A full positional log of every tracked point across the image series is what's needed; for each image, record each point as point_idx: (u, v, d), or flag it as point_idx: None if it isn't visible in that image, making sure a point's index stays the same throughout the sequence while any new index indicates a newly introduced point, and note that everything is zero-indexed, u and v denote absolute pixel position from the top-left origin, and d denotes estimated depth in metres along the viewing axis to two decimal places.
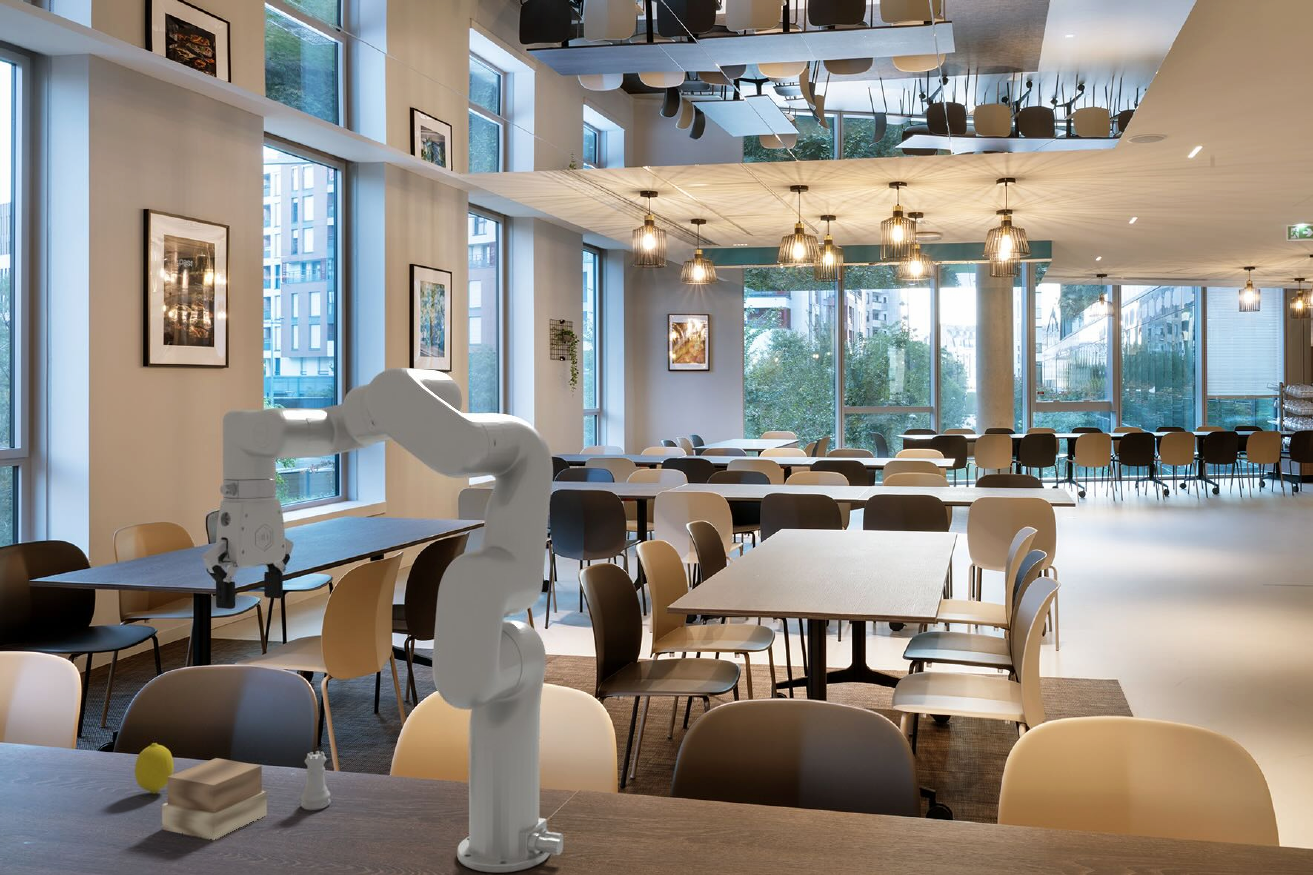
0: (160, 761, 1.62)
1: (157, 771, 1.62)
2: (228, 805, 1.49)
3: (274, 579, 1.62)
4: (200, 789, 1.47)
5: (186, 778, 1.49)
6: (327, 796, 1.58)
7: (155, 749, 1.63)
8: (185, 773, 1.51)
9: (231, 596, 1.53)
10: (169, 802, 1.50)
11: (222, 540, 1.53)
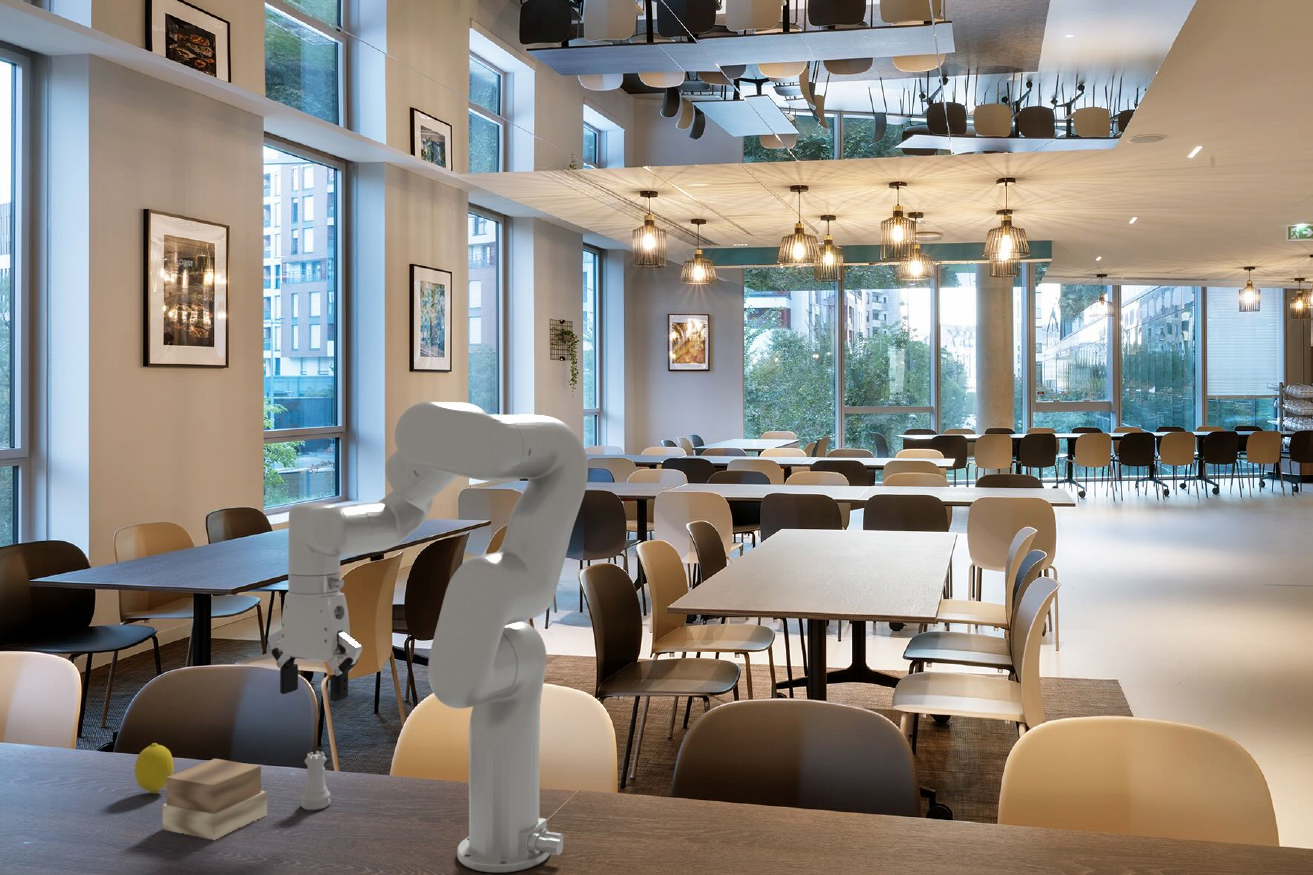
0: (160, 761, 1.62)
1: (157, 771, 1.62)
2: (228, 805, 1.49)
3: (293, 672, 1.61)
4: (200, 789, 1.47)
5: (185, 779, 1.49)
6: (327, 796, 1.58)
7: (155, 749, 1.63)
8: (184, 774, 1.51)
9: None
10: (168, 803, 1.49)
11: (340, 633, 1.56)
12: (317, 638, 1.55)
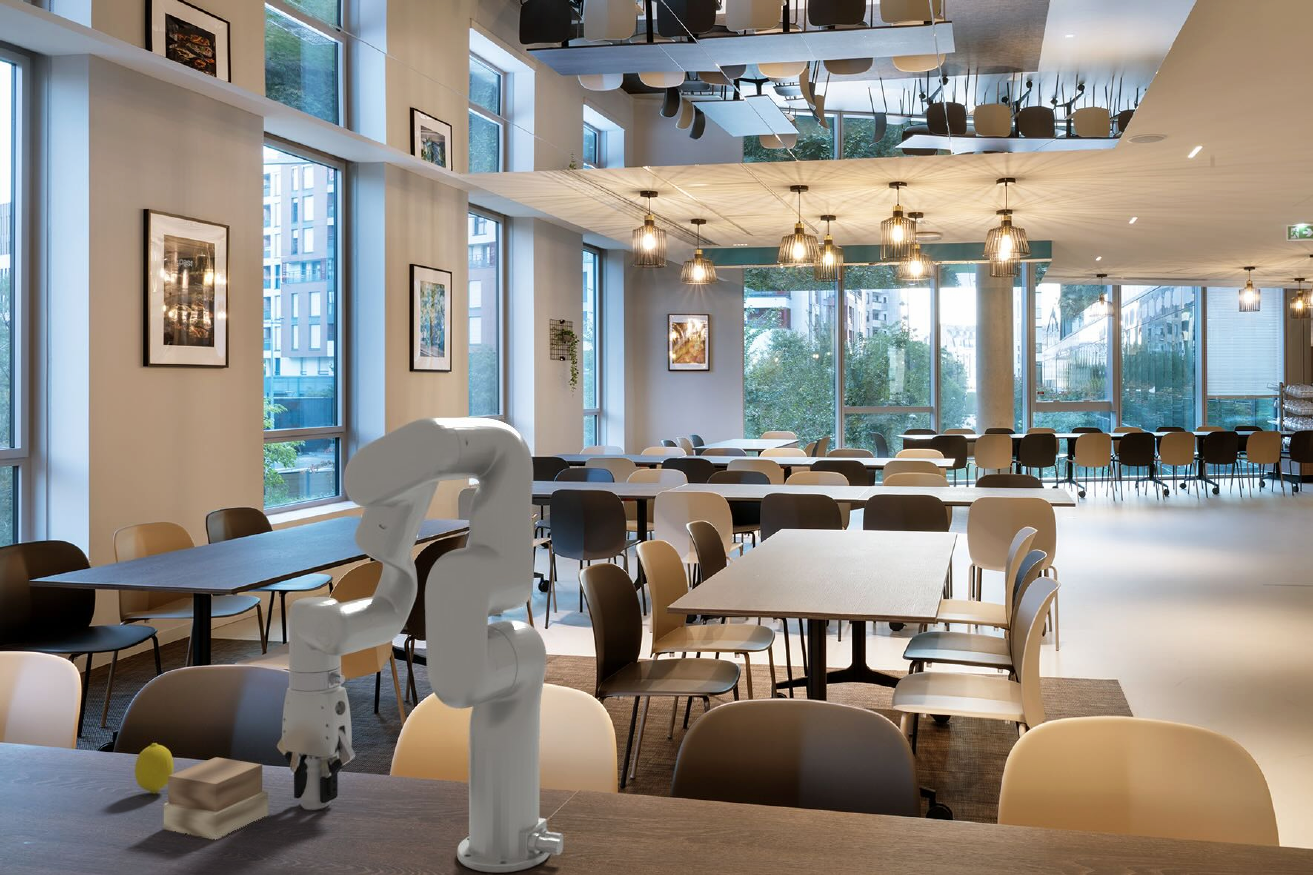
0: (160, 761, 1.62)
1: (157, 771, 1.62)
2: (229, 804, 1.49)
3: None
4: (202, 787, 1.48)
5: (187, 777, 1.49)
6: None
7: (155, 749, 1.63)
8: (186, 772, 1.51)
9: None
10: (170, 801, 1.50)
11: (340, 734, 1.57)
12: (318, 734, 1.56)
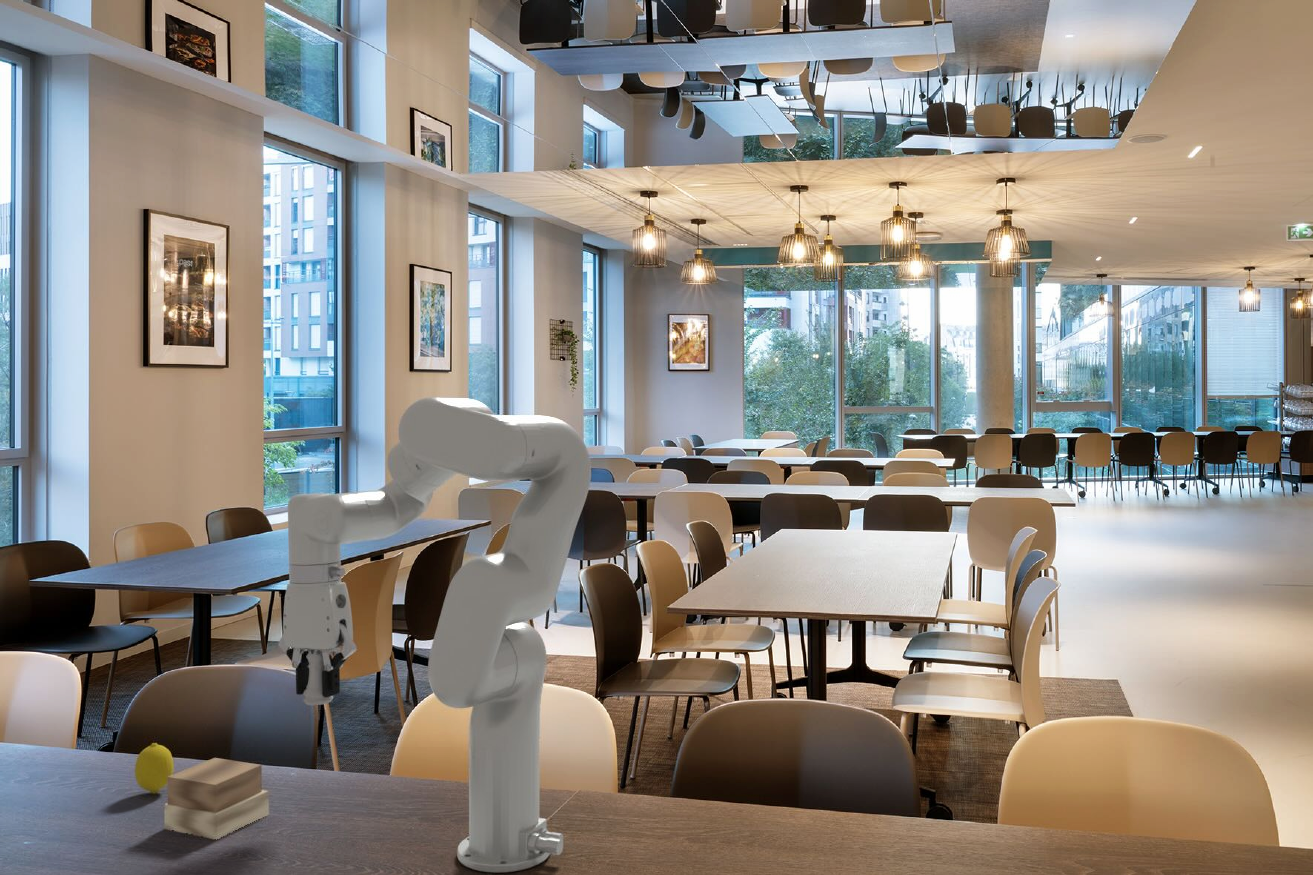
0: (160, 761, 1.62)
1: (157, 771, 1.62)
2: (229, 804, 1.49)
3: None
4: (201, 788, 1.47)
5: (187, 778, 1.49)
6: None
7: (155, 749, 1.63)
8: (185, 773, 1.51)
9: None
10: (169, 802, 1.50)
11: (341, 627, 1.56)
12: (319, 627, 1.55)
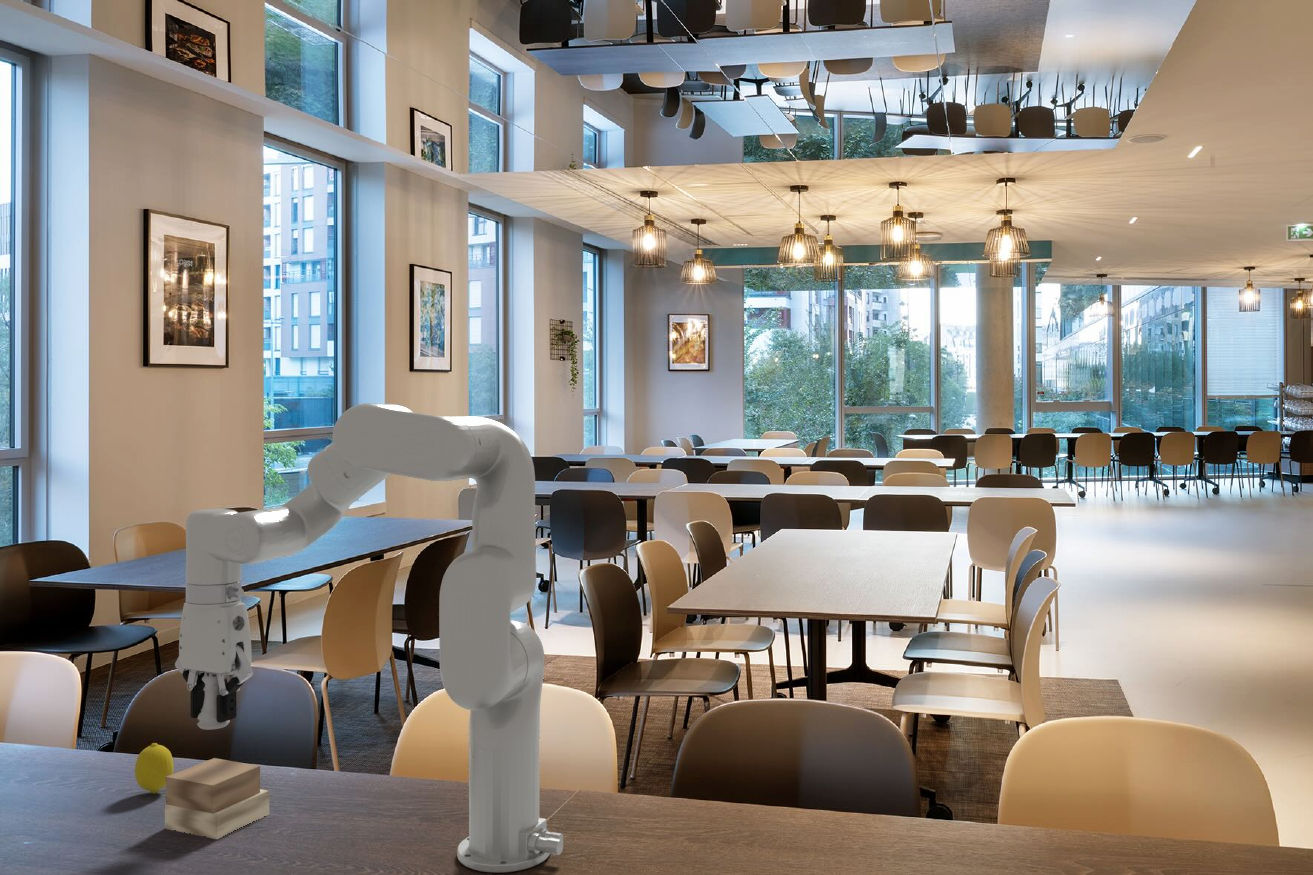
0: (160, 761, 1.62)
1: (157, 771, 1.62)
2: (227, 805, 1.49)
3: None
4: (199, 789, 1.47)
5: (185, 779, 1.49)
6: None
7: (155, 749, 1.63)
8: (183, 773, 1.51)
9: None
10: (167, 802, 1.49)
11: (238, 650, 1.50)
12: (215, 650, 1.49)
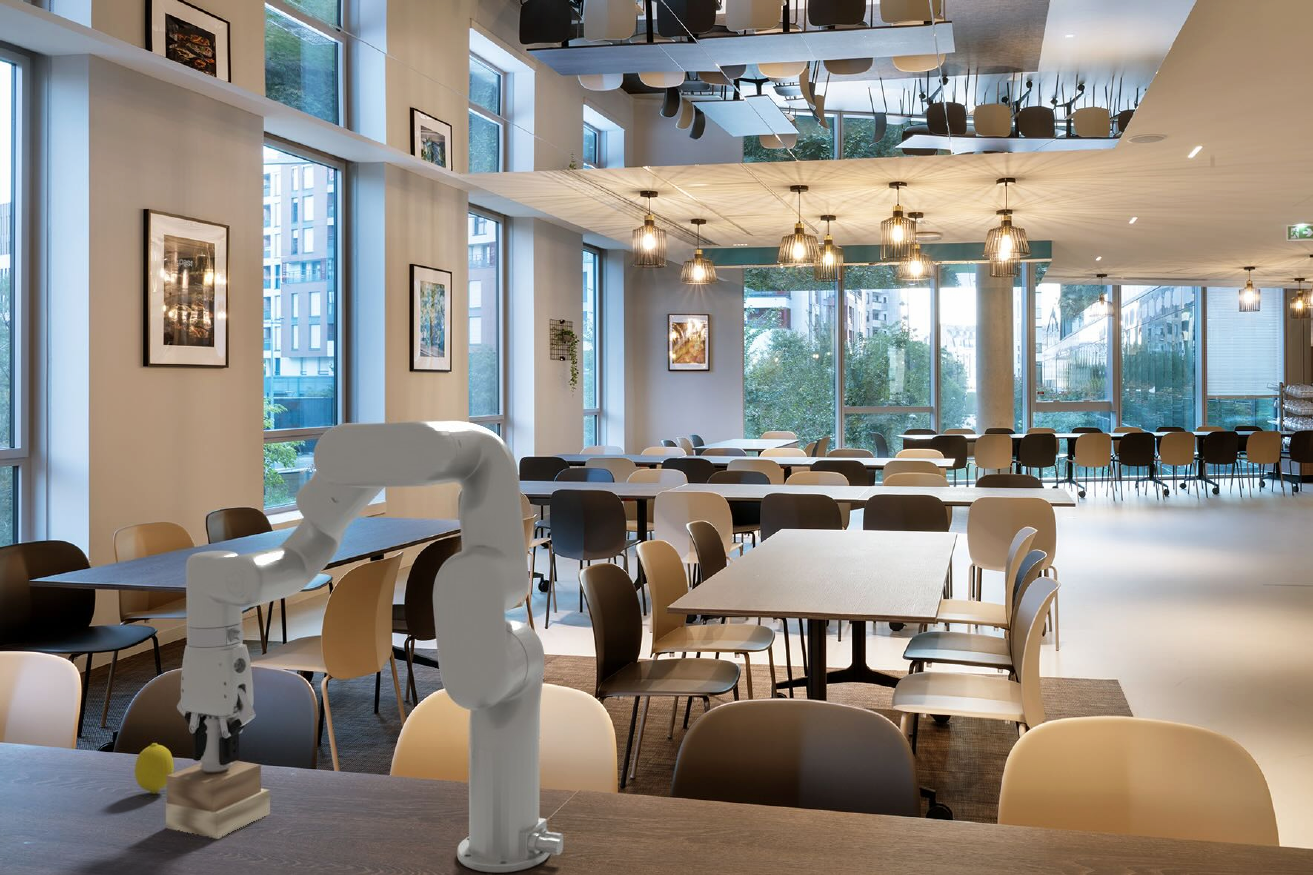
0: (160, 761, 1.62)
1: (157, 771, 1.62)
2: (227, 804, 1.49)
3: None
4: (199, 787, 1.47)
5: (185, 777, 1.49)
6: None
7: (155, 749, 1.63)
8: (184, 772, 1.51)
9: (237, 747, 1.52)
10: (168, 801, 1.50)
11: (240, 692, 1.50)
12: (216, 693, 1.49)
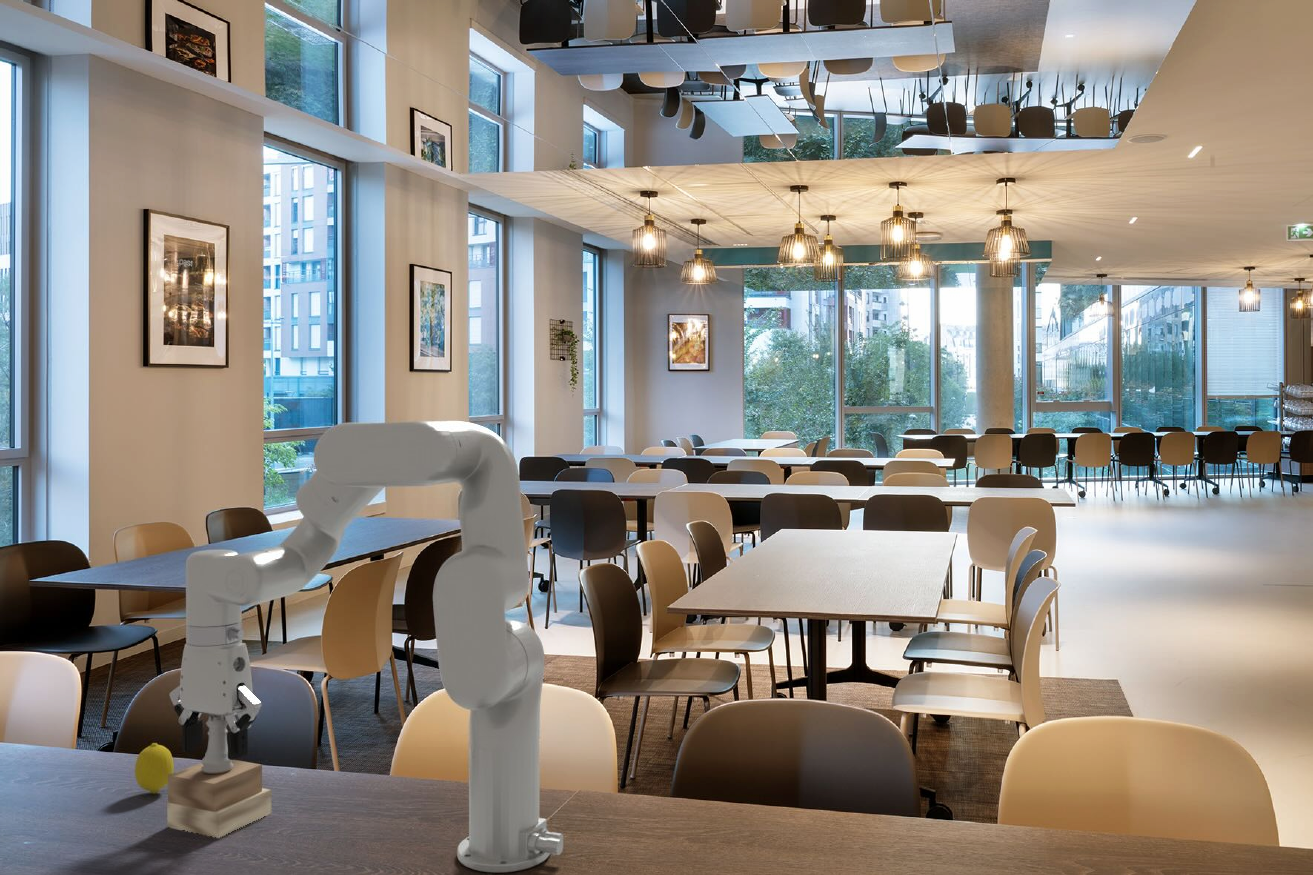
0: (160, 761, 1.62)
1: (157, 771, 1.62)
2: (228, 804, 1.49)
3: (197, 728, 1.54)
4: (200, 787, 1.48)
5: (186, 777, 1.49)
6: (229, 760, 1.52)
7: (155, 749, 1.63)
8: (186, 772, 1.52)
9: None
10: (170, 800, 1.50)
11: (240, 687, 1.50)
12: (216, 692, 1.49)
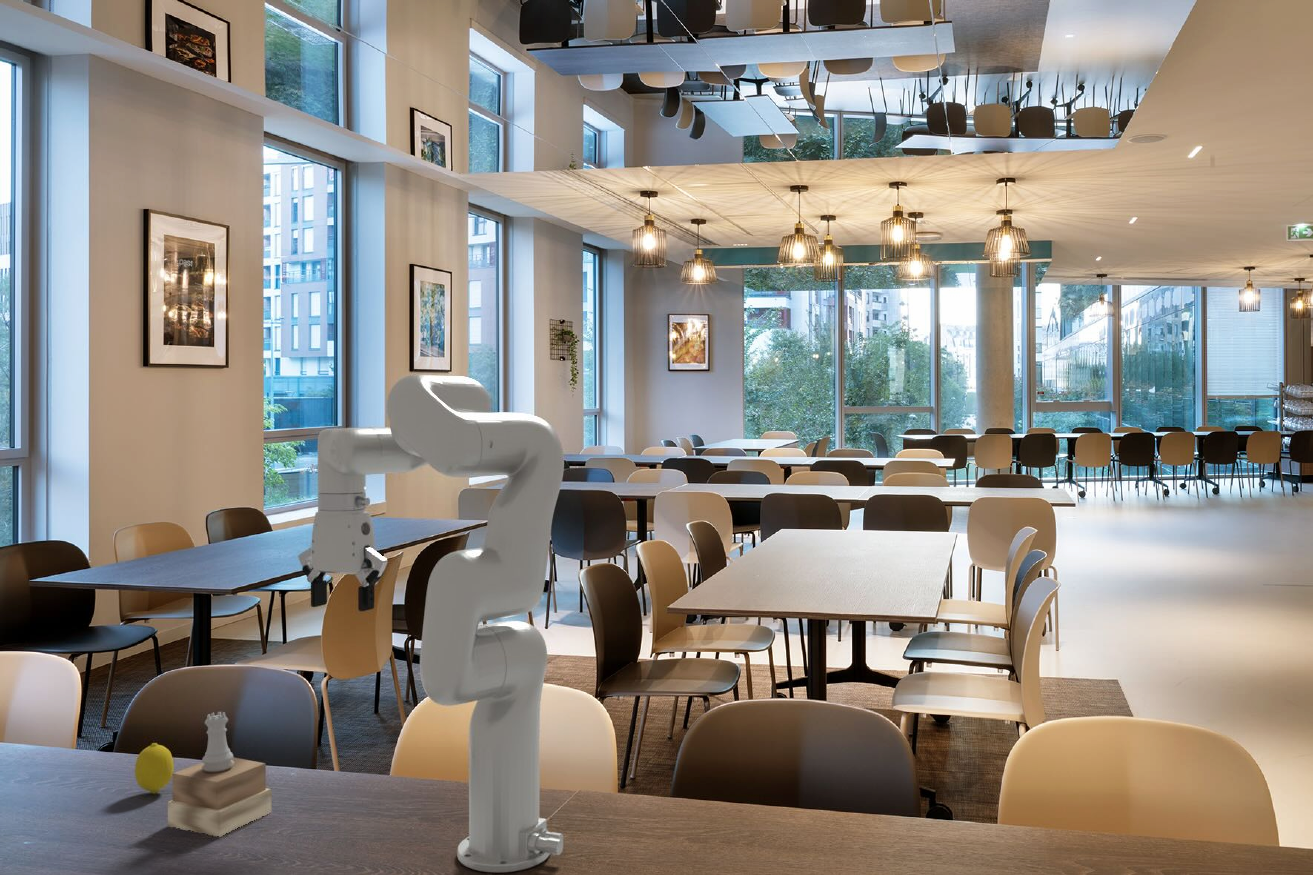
0: (160, 761, 1.62)
1: (157, 771, 1.62)
2: (231, 802, 1.50)
3: (323, 587, 1.72)
4: (204, 785, 1.49)
5: (190, 775, 1.50)
6: (229, 758, 1.53)
7: (155, 749, 1.63)
8: (190, 770, 1.53)
9: None
10: (174, 798, 1.51)
11: (367, 548, 1.68)
12: (345, 552, 1.67)
